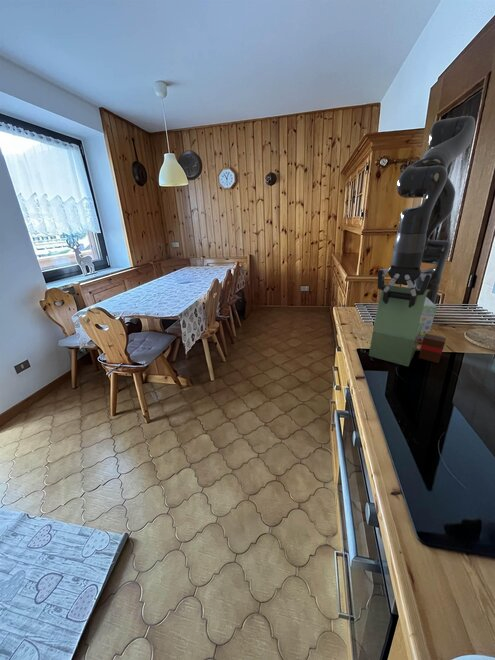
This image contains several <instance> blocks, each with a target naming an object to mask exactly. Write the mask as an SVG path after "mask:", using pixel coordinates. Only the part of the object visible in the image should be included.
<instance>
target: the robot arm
mask: <svg viewBox="0 0 495 660" xmlns="http://www.w3.org/2000/svg"><path fill="white" fill-rule="evenodd" d="M475 128H476V119H475V117H474V116H472V115H463V116H462V115H461V116H457V117H456V116H455V117H451V118H450V117H449V118H444V119H439V120H436V121H435V122H433V124H432V125H431V128H430V131H429V134H428V135H429V136H428V142H427V151H426V152H425V153H424V154H423V155H422V157H421V158H420V159H419V160H416V161H415V162H414V163H411V164H410V165H408V166H407V167H406V168H404V170H403V171H402V172H401V174H400V176H399V177H398V179H397V182H396V191H397V194H398V195H399V197H401V198H404V199H423V201H422V203H421V204H420V205H417V206H413V207H409V208H404V209H403V210H402V211H401V212H400V215H399V218H398V224H397V232H396V236H395V238H394V243H393V246H392V247H393V248H392V256H391V261H390V267H389V268H383V267H382V268H380V269H378V270H377V290H383V291H384V295H383V301H384V303H385V304H387V303H388V301H389V293H390V291H389V290H390V288H391V287H392V285H393V286H394V284H395V285H402V286H407V287H408V288H409V289H410V291H411V294H412V295H411V296H410V301H409V306H408V307H409V308H411V307H412V306H414V305H415V302H416V298H417V296H418V295H423V294H424V293H425V291H426V290H428V291H427V295H426V297H427V298H428V299H429V300H430V301H431V302H433V303H434V304H435V305H436V301H437V297H438V293H439V289H440V286H441V282H442V277H443V274H444V270H445V265H446V262H447V259H448V257H449V253H450V251H451V250H450V249H451V242H450V241H449V240H443V239H442V240H441V239H430V237H431V235H432V234H433V233H434V231H435V230H436V229H437V228H438V227H439V226H441V224H442V223H444V221H445V220H446V219H448V218H449V216H450V215H451V213H452V212H453V209H454V203H455V198H456V189H455V185H454V184H453V182H452V181H451V179H450V178H449V176H448V171H447V169H448V167H449V166H450V164H452V162H454V161H455V160H456V159H457V158H458V157H460V155H462V154H463V153H464V152H466V150H467V149H468V148H469V147H470V145H471V143H472V140H473V138H474V134H475V130H476V129H475ZM422 264H430V265H434V266H432V267H430V268H427V269H423V270H422V269H421V266H422ZM387 274H388V276H389V278H390V281H389V282H388V283H387V284H385V277H386V276H387ZM384 284H385V285H384ZM386 285H387V286H386ZM417 289H420V290H417Z"/></svg>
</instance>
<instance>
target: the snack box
mask: <svg viewBox="0 0 495 660" xmlns="http://www.w3.org/2000/svg"><path fill="white" fill-rule="evenodd" d="M437 310H438V306H437V305H436V303H435V304H434V303H433V302H431V301H430V300H429V299H428V298H427V297H426V299H425V303H424V306H423V310H422V314H421V318H420V322H419V323H420V324H423V325H422V329H421V333H420V337H419V341H418V344H422V342H423V338H424V336H425V334H430V333H431V329H432V326H433V322H434V320H435V316H436V313H437Z"/></svg>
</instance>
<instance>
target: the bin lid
mask: <svg viewBox="0 0 495 660" xmlns="http://www.w3.org/2000/svg"><path fill="white" fill-rule="evenodd" d="M384 285H386V286H387V285H388V284H385V283H384ZM380 290H381V289H380ZM417 290H420V289H417ZM389 291H390V293H389V301H388V303H387V304H385V303H384V301H383V295H384V291H383V290H381V291H380V295H379V300H378V305H377V309H376V312H375V313H376V314H375V318H374V323H373V327H372V331H373V330H374V331H378V332H383V333H387V334H392V335H396V336H401V337H405V338H410V339H415V337H416V333H417V329H418V325H419V322H420V318H421V314H422V310H423V306H424V303H425V299H426V295H427V291H428V290H426V291H425V293H424V294H423V295H418V296H417V298H416V302H415V305H414V306H412V307H411V308H409V307H408V306H409V301H410V296H411V295H412V294H411V291H410V289H409V287H408V286H400V285H394V284H393V285H392V287H391V288H390V290H389Z"/></svg>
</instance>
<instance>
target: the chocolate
mask: <svg viewBox="0 0 495 660" xmlns="http://www.w3.org/2000/svg"><path fill="white" fill-rule="evenodd" d="M446 340H447V337H443V336H439V335H433V334H430V333H429V334H425V336H424V338H423V342H422V343H421V345H420V349H419V354H418V359H421V360H424V361H429V362H432V363H437V364H439V363H440V361H441V357H442V354H443V351H444V348H445V344H446Z"/></svg>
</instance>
